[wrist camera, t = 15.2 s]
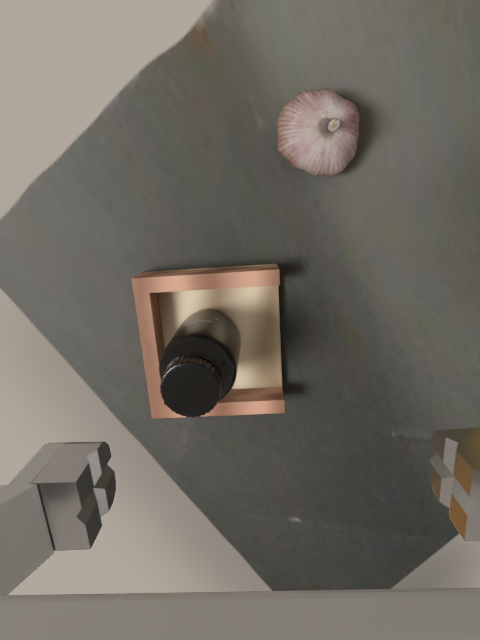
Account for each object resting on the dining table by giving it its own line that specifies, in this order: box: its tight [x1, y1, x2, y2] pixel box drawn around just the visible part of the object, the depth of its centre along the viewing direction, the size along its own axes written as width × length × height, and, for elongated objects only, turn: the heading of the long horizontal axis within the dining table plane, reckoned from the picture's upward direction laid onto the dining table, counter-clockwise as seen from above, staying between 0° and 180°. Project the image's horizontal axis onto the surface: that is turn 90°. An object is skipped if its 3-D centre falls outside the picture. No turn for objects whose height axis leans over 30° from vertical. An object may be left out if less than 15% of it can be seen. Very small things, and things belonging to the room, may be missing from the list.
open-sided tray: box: [132, 264, 285, 418], centre depth 40 cm, size 14×15×4 cm
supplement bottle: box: [159, 310, 241, 417], centre depth 35 cm, size 7×7×12 cm
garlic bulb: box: [277, 89, 360, 176], centre depth 32 cm, size 8×7×8 cm
